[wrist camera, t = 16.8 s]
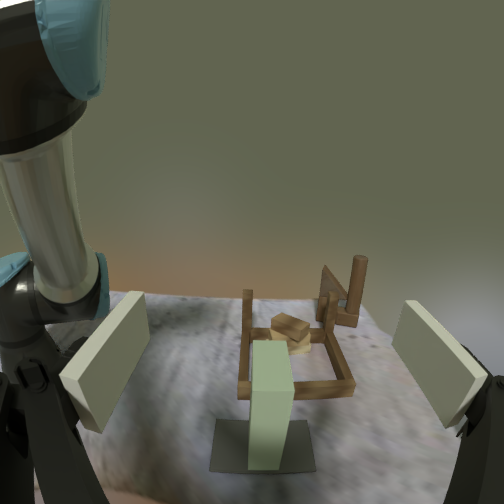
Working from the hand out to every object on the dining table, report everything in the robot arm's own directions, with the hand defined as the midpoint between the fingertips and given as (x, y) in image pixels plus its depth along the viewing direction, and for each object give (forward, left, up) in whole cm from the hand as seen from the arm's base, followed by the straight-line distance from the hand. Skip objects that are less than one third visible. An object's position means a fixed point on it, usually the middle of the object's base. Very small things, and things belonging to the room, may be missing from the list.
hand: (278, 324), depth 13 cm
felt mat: (+1, +13, -29) cm, 31 cm away
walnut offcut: (+7, +38, -24) cm, 46 cm away
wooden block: (+21, +51, -29) cm, 62 cm away
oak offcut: (+7, +38, -26) cm, 47 cm away
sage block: (+1, +13, -28) cm, 31 cm away
